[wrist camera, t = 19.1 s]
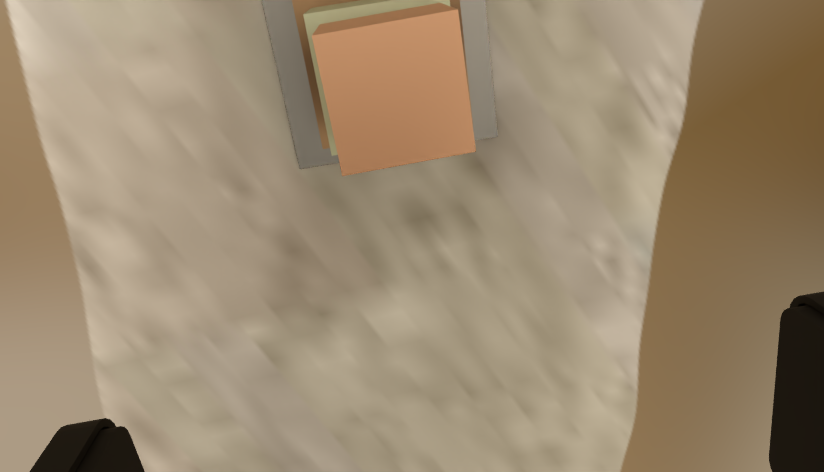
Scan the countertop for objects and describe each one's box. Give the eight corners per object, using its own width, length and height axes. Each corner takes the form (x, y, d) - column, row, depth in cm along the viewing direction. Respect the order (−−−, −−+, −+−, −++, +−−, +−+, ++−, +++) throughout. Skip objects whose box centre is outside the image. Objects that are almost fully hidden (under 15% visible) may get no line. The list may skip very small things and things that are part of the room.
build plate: (495, 133, 38) (497, 136, 37) (300, 165, 38) (299, 169, 37) (475, -85, 33) (477, -86, 32) (252, -50, 33) (249, -51, 32)
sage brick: (449, 111, 32) (464, 134, 28) (335, 129, 32) (331, 155, 28) (434, -12, 30) (448, -9, 25) (311, 7, 30) (303, 14, 25)
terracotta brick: (456, 121, 27) (476, 151, 23) (344, 141, 27) (342, 176, 23) (439, 2, 25) (458, 9, 21) (319, 24, 25) (311, 35, 21)
